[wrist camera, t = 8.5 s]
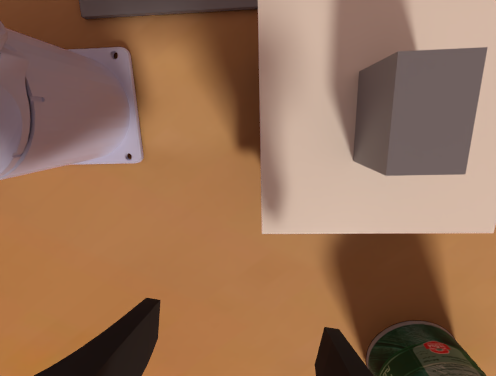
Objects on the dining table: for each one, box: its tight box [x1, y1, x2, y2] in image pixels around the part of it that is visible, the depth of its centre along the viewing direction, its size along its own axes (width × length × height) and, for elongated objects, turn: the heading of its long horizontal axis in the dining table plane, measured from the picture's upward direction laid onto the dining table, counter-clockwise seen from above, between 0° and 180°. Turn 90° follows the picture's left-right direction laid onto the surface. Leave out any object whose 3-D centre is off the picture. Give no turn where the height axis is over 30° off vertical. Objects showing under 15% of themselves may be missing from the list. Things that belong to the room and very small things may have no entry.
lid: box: [258, 0, 496, 234], centre depth 12 cm, size 13×13×5 cm
